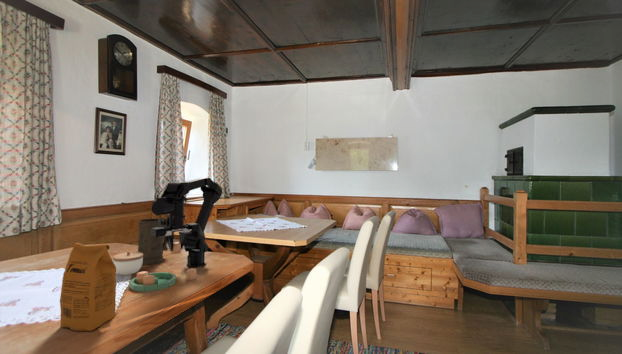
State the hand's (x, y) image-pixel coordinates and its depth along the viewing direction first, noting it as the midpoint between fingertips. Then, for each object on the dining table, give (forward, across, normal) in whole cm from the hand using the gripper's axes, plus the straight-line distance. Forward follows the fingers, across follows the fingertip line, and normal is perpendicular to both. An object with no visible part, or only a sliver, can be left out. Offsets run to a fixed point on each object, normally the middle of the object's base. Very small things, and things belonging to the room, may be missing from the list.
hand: (176, 250), depth 126 cm
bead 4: (+10, 0, +12) cm, 15 cm away
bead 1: (+9, +15, +4) cm, 18 cm away
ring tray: (+10, +12, +7) cm, 17 cm away
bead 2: (+9, +15, +10) cm, 20 cm away
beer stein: (+10, -3, -27) cm, 29 cm away
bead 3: (+1, 0, 0) cm, 1 cm away
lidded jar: (+10, +13, -14) cm, 22 cm away
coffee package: (+10, +36, +22) cm, 43 cm away
